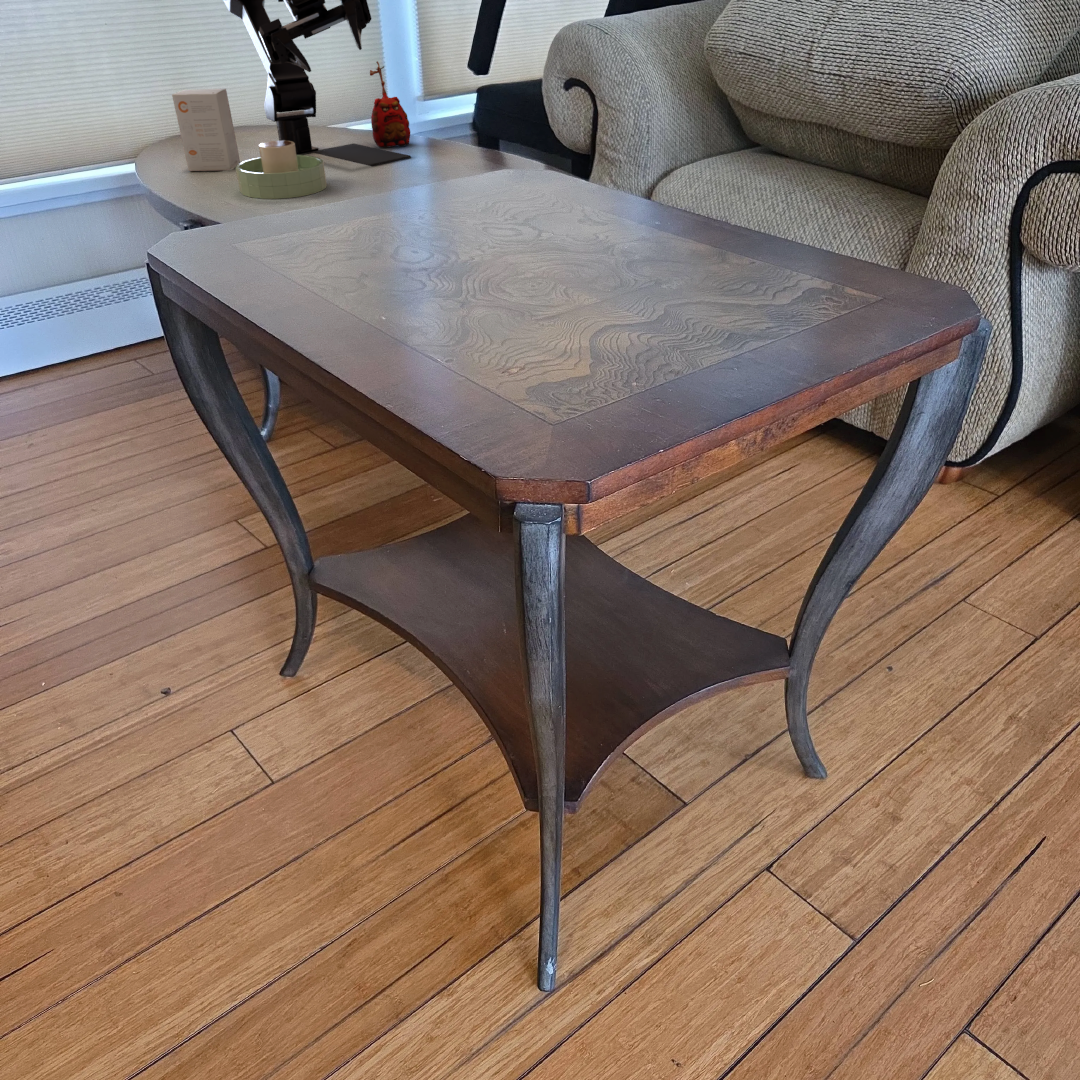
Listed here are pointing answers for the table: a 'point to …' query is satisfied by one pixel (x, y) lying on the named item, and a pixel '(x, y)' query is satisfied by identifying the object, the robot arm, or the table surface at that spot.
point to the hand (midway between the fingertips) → (335, 58)
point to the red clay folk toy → (389, 119)
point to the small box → (206, 129)
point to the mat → (361, 154)
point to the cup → (278, 156)
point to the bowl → (281, 179)
